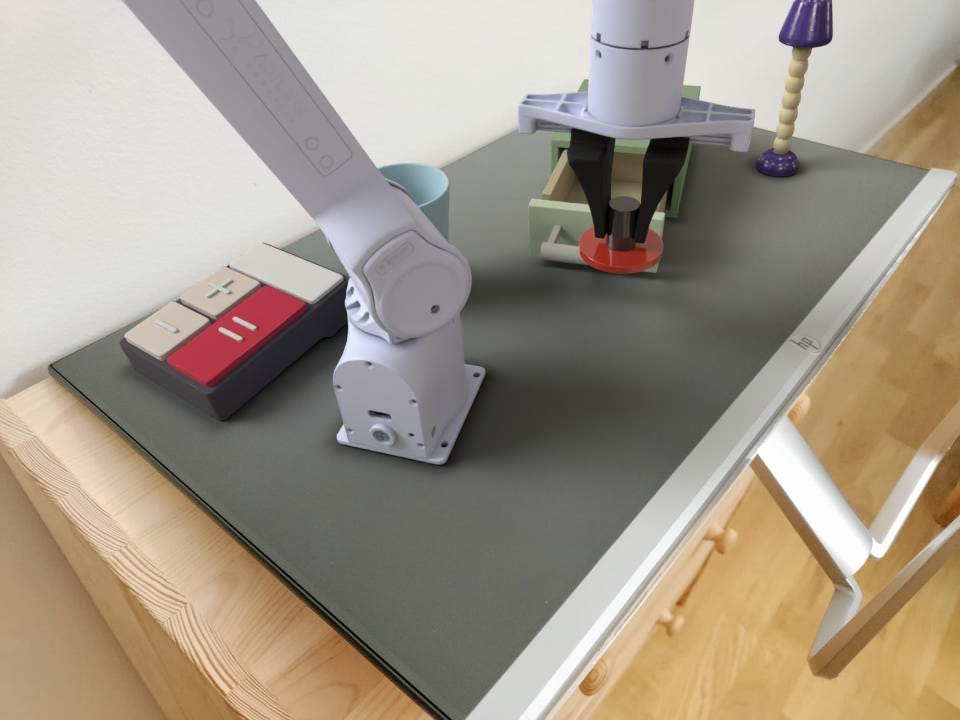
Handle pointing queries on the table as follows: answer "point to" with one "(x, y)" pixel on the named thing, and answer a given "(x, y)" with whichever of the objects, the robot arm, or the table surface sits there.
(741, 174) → the table surface
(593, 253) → the lid
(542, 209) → the drawer
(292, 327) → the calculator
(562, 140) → the cabinet
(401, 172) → the cup
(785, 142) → the toy lamp
